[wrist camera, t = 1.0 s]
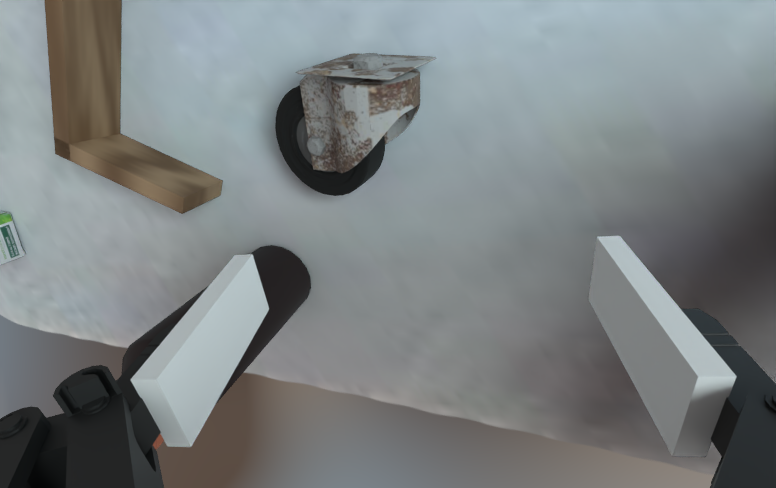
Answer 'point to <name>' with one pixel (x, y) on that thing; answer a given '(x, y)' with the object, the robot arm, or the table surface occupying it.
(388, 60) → the caster wheel
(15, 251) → the syrup box
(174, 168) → the bay
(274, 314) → the bottle
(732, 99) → the table surface
